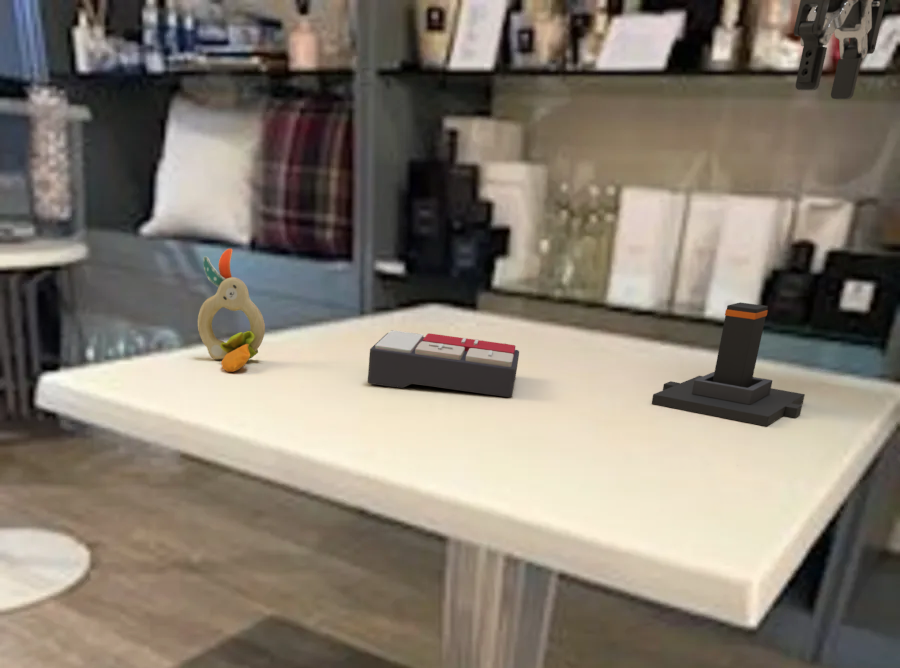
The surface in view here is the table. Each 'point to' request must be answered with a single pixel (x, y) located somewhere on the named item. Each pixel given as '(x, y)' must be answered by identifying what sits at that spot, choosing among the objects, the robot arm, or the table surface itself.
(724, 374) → the dark grey block
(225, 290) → the rattle
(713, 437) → the table surface
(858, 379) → the table surface
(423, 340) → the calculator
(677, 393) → the base pad
